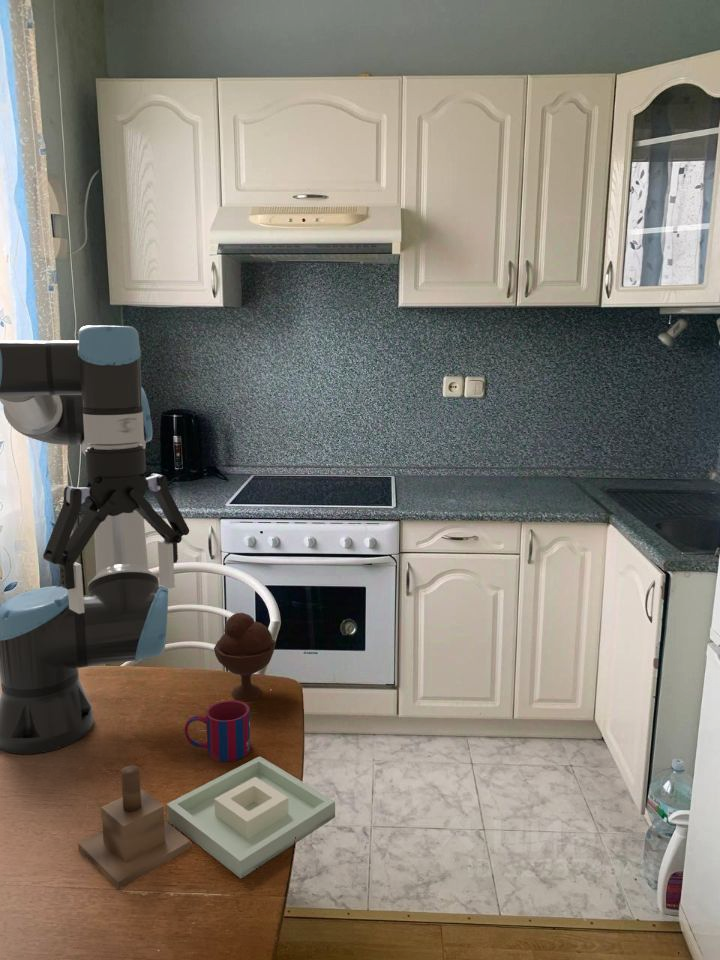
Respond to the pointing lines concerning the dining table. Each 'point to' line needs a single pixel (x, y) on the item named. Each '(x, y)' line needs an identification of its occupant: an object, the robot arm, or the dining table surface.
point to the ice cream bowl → (245, 652)
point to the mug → (225, 731)
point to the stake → (132, 835)
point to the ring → (257, 819)
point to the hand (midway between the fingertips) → (124, 598)
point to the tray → (226, 843)
